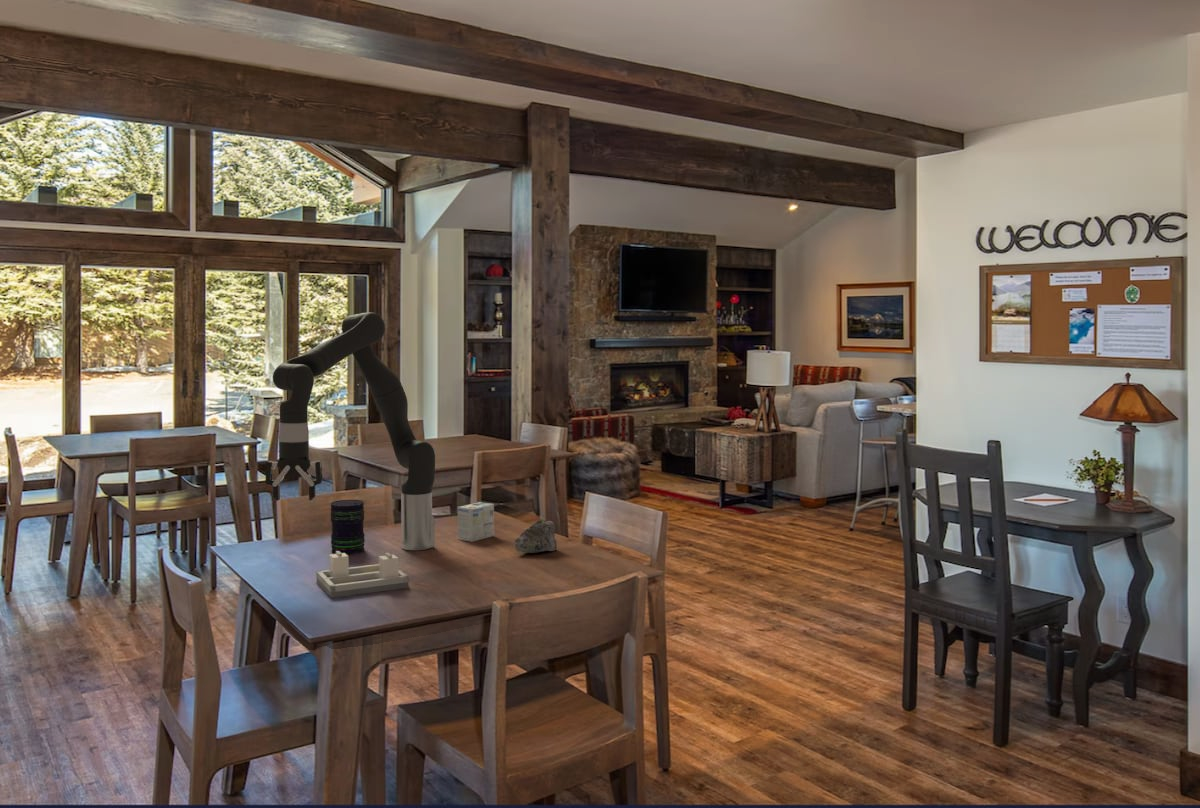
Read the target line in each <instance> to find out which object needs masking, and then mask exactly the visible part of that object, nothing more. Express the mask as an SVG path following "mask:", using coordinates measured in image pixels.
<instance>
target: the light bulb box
mask: <svg viewBox="0 0 1200 808" xmlns="http://www.w3.org/2000/svg"><path fill="white" fill-rule="evenodd" d="M494 536H495V505H494V503H489V502H488V503H487V502H483V501H478V502H474V503H471V504H465V505H462V506H457V539H458V540H460V541H466V542H471V543H473V542H476V541H477V542H478V541H480V540H484V539H488V538H492V537H494Z"/></svg>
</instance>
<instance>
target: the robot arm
mask: <svg viewBox="0 0 1200 808" xmlns="http://www.w3.org/2000/svg"><path fill="white" fill-rule="evenodd" d="M341 332H342V333H341V334H339V335H336V336H334V337H332V338H329V339H328V340H325V341H323V342H321V343H319V344H317V345H316V346H314V347H313V348H311V349H309V350H308V351H307V352H305V353H304V354H301V355H299V356H296V357H293V358H291V359H287V360H286V361H284V362H282V363H280V364H279V365H277V367H276V368H275V369H274V371H273V373H272V381H273V384H274V386H275V387H276V388H278V389H279V390H282V391H292V392H291V395H290V397H289V399H285V400H281V402H280V404H279V427H278V438H277V439H278V461H273V460H269V461H267V462H266V465H265V484H266V485H270V486H271V487H272V497H273V499H275V501H276V502H279V501H280V500H281V485H280V483H281V482H282V481H283V480H284V478H285V477H286V478H287V479H290V478H296V479H299V478H303V480H304V481H305V482H307V484H308V485H309V486H308V501H313V499H315V497H316V486H317V485H320V484H321V483H322V482H323V481H324V480H323V467H322V460H317V461H311V460H310V447H309V445H310V444H309V443H310V439H309V438H310V437H309V434H310V433H309V432H310V431H309V425H308V420H309V419H308V407H309V403H310V400H311V399H310V398H311V396H312V391H313V388H314V382H315V377H319V376H321V375H323V374H324V373H325V372H327V371H328V370H330V369H331V368H333V367H334V366H335V365H336V364H338V363H340V362H341V361H343V360H344V359H346V358H348V357H349V356H350V355H352V356H353V357H354V359H355V361H356V362H357V365H358V367H359V369H360V371H361V374H362V375H363V378H364V380H365V382H366V385H367V386H368V389H369V391H370V394H371V397H372V399H373V402H374V404H375V406H376V408H377V409H378V412H379V414H380V417H381V420H382V422H383V423H384V426H385V428H386V430H387V432H388V435H389V439H390V441H391V445H392V449H393V452H394V455H395V458H396V460H397V462H398V464H399V465H400V466H401V467H402V468H404V469H407V471H408V472H407V479H406V481H404V482H402V484H401V487H400V489H401V491H400V492H401V493H400V495H401V497H400V498H401V503H400V504H401V549H403V550H405V551H423V550H424V551H425V550H429V549H432V548H435V547H436V546H435V545H436V542H435V536H436V535H435V516H433V486H434V483H435V474H436V454H435V450H434V448H433V445H431V444H430V443H429V442H428V441H423V440H419V439H417V438H416V437H415V435H414V432H413V430H412V428H411V426H410V424H409V417H408V416H409V415H408V413H409V412H408V410H409V409H408V406H409V405H408V397H407V395H406V392H405V389H404V386H403V385H402V382H401V380H400V378H398V375H397V374H396V373H395V372H394V371H393V370H392V369H390V368H389V367H388V366H387V364H385V363H384V362H383V361H382V360H381V359H380V357H378V355H377V354H376V352H375V351H374V348H373V346H372V344H375V343H378V342H379V341H381V340H382V338H384V335H385V333H386V325H385V322H384V319H383V318H382V317H381V315H379V314H378V313H376V312H370V311H368V312H361V313H356V314H351V315H348V316H346V317H345V318H344V319H343V320H342V322H341ZM276 467H277V468H278V469H279V471H280V473H279V474H278V476H277V477H276V478H275V479H273V471H274V470H275V469H276ZM310 467H312V469H313V470H315V479H314V478H313V477H312V475H311V474H310V472H309V469H310Z"/></svg>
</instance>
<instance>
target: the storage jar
mask: <svg viewBox="0 0 1200 808" xmlns="http://www.w3.org/2000/svg"><path fill="white" fill-rule="evenodd" d="M364 503H365V501H363V500H359V499H342V500H341V499H340V500H335V501H332V502H330V522H331V534H330V539H331V540H330V546H331V554H336V551H340V552H341V553H345V554H347V555H348V556H354V555H358V554H362V553H364V552H365V543H366V542H365V541H366V538H365V532H364V520H365V508H364Z"/></svg>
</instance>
